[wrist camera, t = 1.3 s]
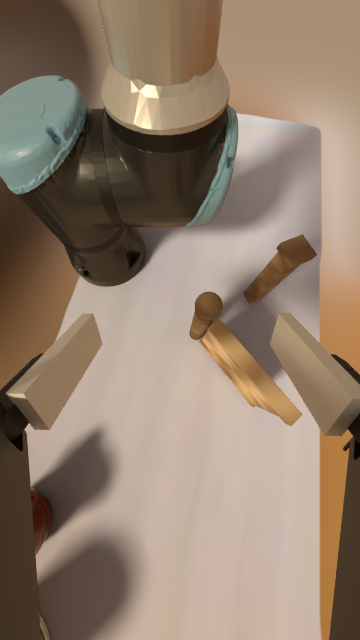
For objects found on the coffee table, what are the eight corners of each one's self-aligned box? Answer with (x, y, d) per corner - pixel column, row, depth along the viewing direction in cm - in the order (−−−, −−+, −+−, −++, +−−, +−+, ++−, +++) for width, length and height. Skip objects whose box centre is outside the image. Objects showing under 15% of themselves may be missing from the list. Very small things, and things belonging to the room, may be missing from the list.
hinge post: (186, 328, 35) (191, 291, 19) (201, 323, 35) (219, 283, 19) (191, 343, 34) (201, 318, 18) (206, 338, 35) (230, 309, 18)
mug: (39, 569, 26) (-47, 692, 16) (-11, 539, 27) (-122, 638, 17) (82, 476, 29) (31, 532, 19) (36, 452, 30) (-36, 493, 20)
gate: (198, 341, 33) (208, 327, 22) (206, 335, 33) (219, 318, 23) (251, 406, 30) (291, 426, 19) (259, 398, 30) (302, 414, 20)
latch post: (241, 292, 37) (280, 242, 23) (255, 286, 37) (302, 234, 23) (249, 306, 36) (294, 263, 22) (263, 300, 37) (317, 254, 22)
